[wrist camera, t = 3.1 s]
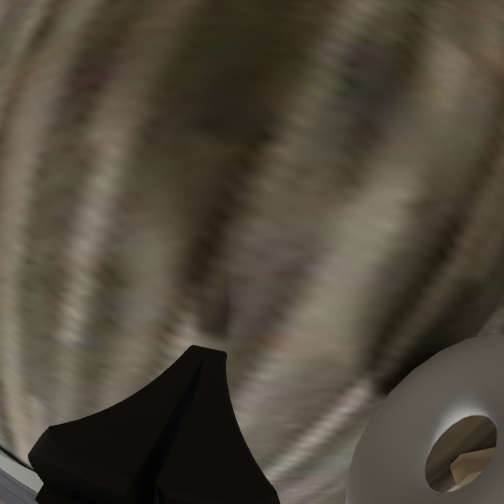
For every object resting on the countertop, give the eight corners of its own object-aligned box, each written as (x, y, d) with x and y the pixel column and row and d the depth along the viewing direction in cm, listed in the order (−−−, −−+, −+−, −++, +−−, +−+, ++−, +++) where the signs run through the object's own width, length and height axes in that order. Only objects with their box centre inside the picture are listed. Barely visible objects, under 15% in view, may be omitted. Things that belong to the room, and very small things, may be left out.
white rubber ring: (484, 276, 11) (634, 431, 1) (508, 319, 11) (619, 455, 2) (320, 417, 14) (330, 609, 4) (361, 440, 14) (384, 602, 5)
